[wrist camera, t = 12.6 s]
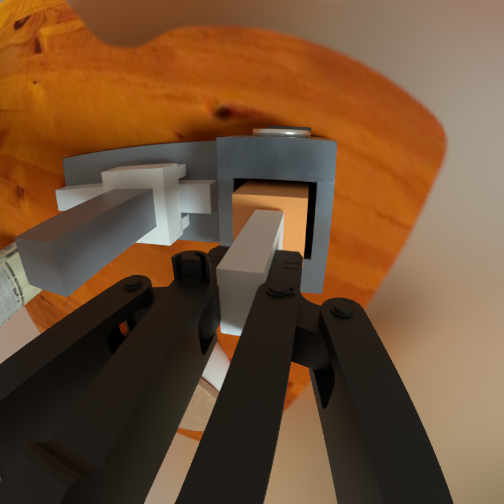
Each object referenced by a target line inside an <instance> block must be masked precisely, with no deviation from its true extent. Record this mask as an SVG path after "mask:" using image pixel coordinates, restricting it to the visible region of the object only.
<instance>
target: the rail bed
mask: <svg viewBox="0 0 504 504" xmlns="http://www.w3.org/2000/svg"><path fill="white" fill-rule="evenodd" d="M168 163H177V164H186V176H184V177H182V178H180V179H178V182H179V196H180V208H181V214H189V224H190V225H189V226H187V227H186V228H185V229H184V230H183V234H182V235H181V236H180V237H179V238H178V239H179V240H191V241H204V242H216V243H220V232H219V210H218V183H217V147H216V141H195V142H179V143H166V144H155V145H145V146H136V147H128V148H120V149H113V150H106V151H100V152H94V153H88V154H83V155H77V156H72V157H68V158H64V159H63V167H64V175H65V183H66V186H65V187H63V188H60V189H58V190H55V192H56V198H57V203H58V209H59V211H66V210H68V209H70V208H72V207H74V206H76V205H79V204H81V203H83V202H85V201H87V200H89V199H92V198H94V197H96V196H98V195H101V194H103V193H104V190H103V182H102V174H101V172H104V171H107V170H110V169H114V168H117V167H124V166H136V165H150V164H168Z"/></svg>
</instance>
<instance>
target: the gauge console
mask: <svg viewBox="0 0 504 504" xmlns="http://www.w3.org/2000/svg"><path fill="white" fill-rule="evenodd" d="M310 133H311V128H307V127H288V126H269V129H252V134H243V135H233V136H224V137H216V147H217V183H218V210H219V232H220V246H230V247H231V245H232V244H233V216H232V194H233V193H234V192H235V191H236V190H237V189H239V188H240V187H241V186H242V185H243V184H244V183H246V182H247V181H248V180H251V178H253V179H276V180H293V181H307V182H317V191H316V205H315V219H314V231H313V242H312V244H307V243H305V247H304V258H303V268H302V276H301V286H300V292H308V293H319V294H322V289H323V282H324V275H325V268H326V260H327V252H328V244H329V236H330V226H331V217H332V206H333V195H334V182H335V167H336V149H337V141H335V140H332V139H330V138H323V137H310Z"/></svg>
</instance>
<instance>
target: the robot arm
mask: <svg viewBox="0 0 504 504" xmlns="http://www.w3.org/2000/svg"><path fill="white" fill-rule="evenodd" d="M283 232H284V211H272V210H257V209H256V210H255V212H254V213H253V214H252V216H251V217H250V219H249V220H248V222H247V223H246V225H245V226H244V228H243V229H242V231H241V232H240V234H239V235H238V237H237V238H236V239H235V241H234V242H233V244H232V245H231V247H230V246H217V247H215V248H213V249H211V250H210V251H209V253H208V254H207V253H205V252H202V251H184V252H180V253H178V254H175V255H174V256H173V257H171V258H172V265H173V272H174V278H175V279H174V280H173V281H172V283H171V284H170V285H169V286H168V287H153V288H152V284H151V281H150V279H149V278H148V277H146V276H141V275H132V276H130V277H126V278H124V279H122V280H120V281H119V282H117V283H116V284H114V285H113V286H111V287H109V288H108V289H106V290H105V291H103V292H102V293H100V294H99V295H97V296H96V297H94V298H93V299H91V300H90V301H88V302H87V303H85V304H84V305H82V306H81V307H79V308H78V309H76V310H75V311H73V312H72V313H70V314H69V315H67V316H66V317H64V318H63V319H62V320H60V321H59V322H57V323H56V324H54V325H53V326H52V327H50V328H49V329H47V330H46V331H44V332H43V333H42V334H40V335H39V336H38V337H36V338H35V339H33V340H32V341H31V342H29V343H28V344H26V345H25V346H24V347H22V348H21V349H20V350H18V351H17V352H16V353H14V354H13V355H12V356H10V357H9V358H8V359H6V360H5V361H4V362H2V363H1V364H0V504H144V502H145V499H146V497H147V495H148V493H149V490H150V488H151V486H152V484H153V482H154V480H155V478H156V475H157V473H158V471H159V469H160V466H161V464H162V462H163V460H164V458H165V455H166V453H167V451H168V449H169V447H170V445H171V442H172V440H173V438H174V436H175V434H176V431H177V429H178V427H179V425H180V423H181V420H182V418H183V416H184V414H185V412H186V409H187V407H188V405H189V403H190V400H191V398H192V396H193V394H194V392H195V389H196V387H197V385H198V383H199V381H200V378H201V376H202V374H203V372H204V369H205V367H206V365H207V363H208V360H209V358H210V356H211V354H212V352H213V349H214V347H215V345H216V343H217V328H218V326H219V324H221V333H225V334H232V335H238V336H240V338H239V341H238V344H237V346H236V349H235V352H234V354H233V357H232V360H231V362H230V365H229V368H228V370H227V373H226V376H225V378H224V381H223V384H222V386H221V389H220V392H219V394H218V397H217V399H216V402H215V405H214V407H213V410H212V412H211V415H210V418H209V420H208V423H207V425H206V428H205V430H204V433H203V435H202V438H201V441H200V443H199V446H198V448H197V451H196V453H195V456H194V458H193V461H192V463H191V466H190V468H189V471H188V473H187V476H186V478H185V481H184V483H183V485H182V488H181V490H180V493H179V496H178V497H177V500H176V502H175V504H263V503H264V499H265V495H266V491H267V487H268V483H269V478H270V473H271V469H272V464H273V460H274V455H275V450H276V445H277V440H278V435H279V430H280V425H281V419H282V414H283V408H284V402H285V397H286V391H287V385H288V378H289V372H290V366H291V361H292V362H295V363H298V364H300V365H303V366H306V367H308V368H309V373H310V377H311V382H312V386H313V390H314V394H315V399H316V403H317V407H318V412H319V416H320V421H321V425H322V430H323V434H324V439H325V444H326V448H327V453H328V458H329V463H330V467H331V472H332V477H333V482H334V487H335V492H336V498H337V503H338V504H453V501H452V498H451V495H450V492H449V489H448V486H447V483H446V481H445V478H444V476H443V473H442V470H441V467H440V465H439V462H438V460H437V457H436V455H435V452H434V450H433V447H432V445H431V443H430V440H429V438H428V436H427V434H426V431H425V429H424V427H423V424H422V422H421V420H420V418H419V415H418V413H417V411H416V409H415V407H414V405H413V402H412V400H411V399H410V396H409V394H408V392H407V390H406V388H405V386H404V384H403V382H402V380H401V378H400V376H399V374H398V372H397V370H396V368H395V366H394V364H393V362H392V360H391V358H390V356H389V355H388V353H387V351H386V349H385V347H384V345H383V343H382V341H381V340H380V338H379V336H378V334H377V332H376V330H375V329H374V327H373V325H372V323H371V322H370V320H369V318H368V316H367V314H366V313H365V311H364V309H363V308H362V307H361V306H360V305H359V304H358V303H356V302H355V301H353V300H350V299H347V298H332V299H328V300H326V301H325V302H323V304H322V305H321V306H320V305H317V304H314V303H311V302H309V301H308V300H306V299H305V298H304V297H303V296H302V294H301V293H300V286H301V276H302V266H303V256H302V255H301V254H300V252H298V251H287V250H283ZM124 321H125V324H126V327H127V330H128V332H127V333H125V334H122V333H121V331H120V328H119V325H120V324H121V323H122V322H124Z"/></svg>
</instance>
